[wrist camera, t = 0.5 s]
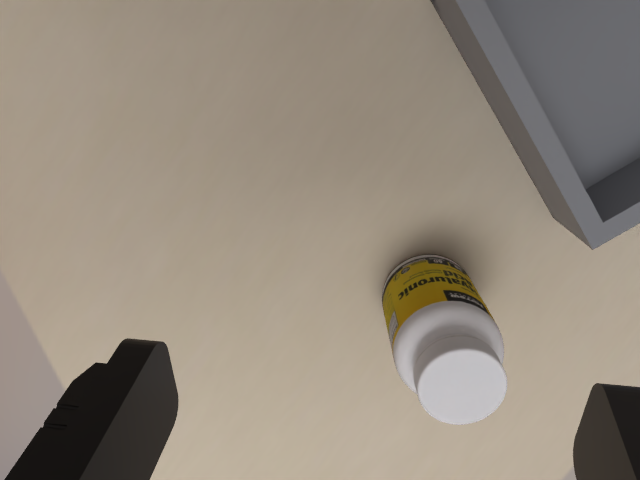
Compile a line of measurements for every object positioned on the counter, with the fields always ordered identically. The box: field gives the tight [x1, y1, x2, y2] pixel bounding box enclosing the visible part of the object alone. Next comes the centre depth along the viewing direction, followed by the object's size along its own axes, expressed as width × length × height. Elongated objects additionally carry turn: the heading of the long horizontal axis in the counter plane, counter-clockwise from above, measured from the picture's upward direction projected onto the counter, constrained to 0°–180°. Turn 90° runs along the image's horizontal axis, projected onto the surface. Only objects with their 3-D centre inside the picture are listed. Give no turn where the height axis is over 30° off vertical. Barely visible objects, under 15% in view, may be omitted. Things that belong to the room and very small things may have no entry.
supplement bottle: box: [382, 255, 507, 425], centre depth 30 cm, size 5×5×10 cm
